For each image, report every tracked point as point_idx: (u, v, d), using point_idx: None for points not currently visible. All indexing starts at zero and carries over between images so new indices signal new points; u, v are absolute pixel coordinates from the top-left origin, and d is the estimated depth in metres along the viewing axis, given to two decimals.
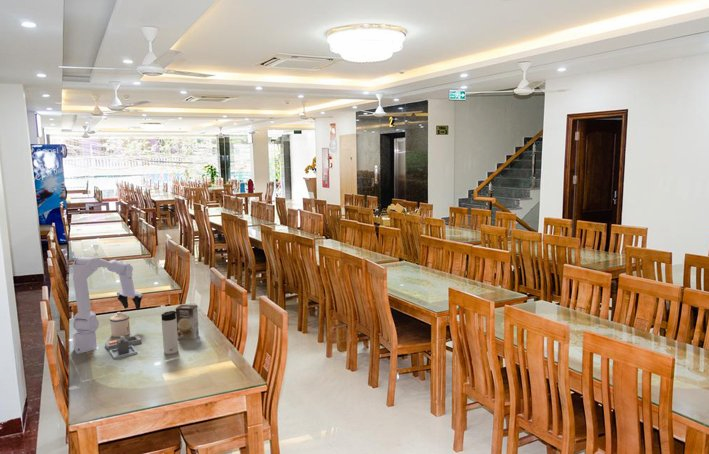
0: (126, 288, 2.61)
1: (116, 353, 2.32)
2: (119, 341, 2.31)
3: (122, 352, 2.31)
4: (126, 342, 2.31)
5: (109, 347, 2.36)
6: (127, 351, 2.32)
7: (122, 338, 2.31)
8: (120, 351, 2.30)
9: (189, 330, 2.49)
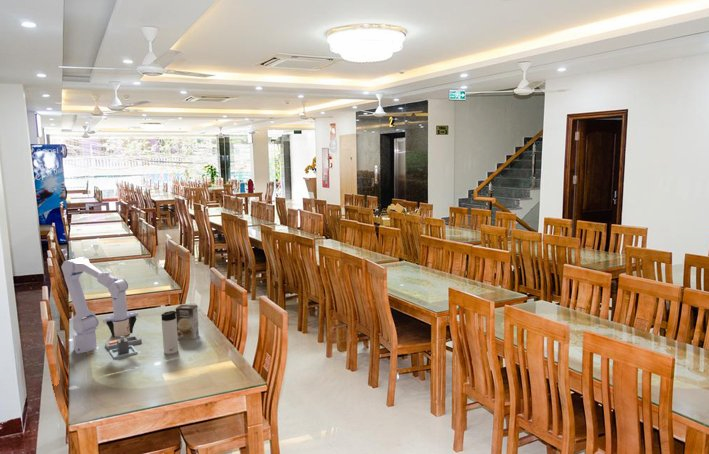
0: None
1: (116, 353, 2.32)
2: (119, 341, 2.31)
3: (122, 352, 2.31)
4: (126, 342, 2.31)
5: (109, 347, 2.36)
6: (127, 351, 2.32)
7: (122, 338, 2.31)
8: (120, 351, 2.30)
9: (189, 330, 2.49)
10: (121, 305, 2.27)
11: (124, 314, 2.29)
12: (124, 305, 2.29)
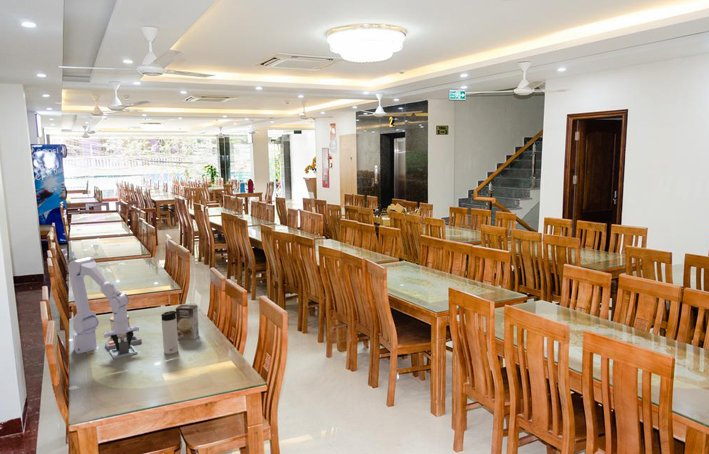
0: None
1: (116, 353, 2.32)
2: (119, 341, 2.31)
3: (122, 352, 2.31)
4: (126, 342, 2.31)
5: (109, 347, 2.36)
6: (127, 351, 2.32)
7: (122, 338, 2.31)
8: (120, 351, 2.30)
9: (189, 330, 2.49)
10: (122, 320, 2.28)
11: (125, 328, 2.30)
12: (125, 320, 2.29)
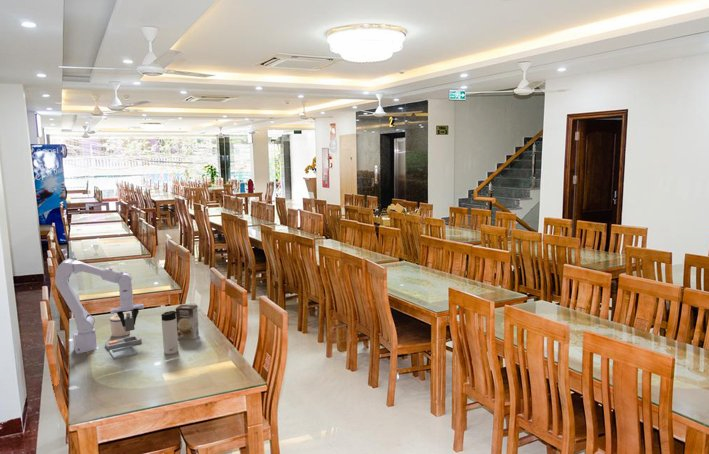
0: None
1: (116, 353, 2.32)
2: (125, 318, 2.42)
3: (128, 328, 2.42)
4: (132, 319, 2.42)
5: (109, 347, 2.36)
6: (133, 328, 2.43)
7: (128, 315, 2.42)
8: (126, 327, 2.41)
9: (189, 330, 2.49)
10: (131, 296, 2.41)
11: (130, 306, 2.41)
12: (132, 296, 2.43)
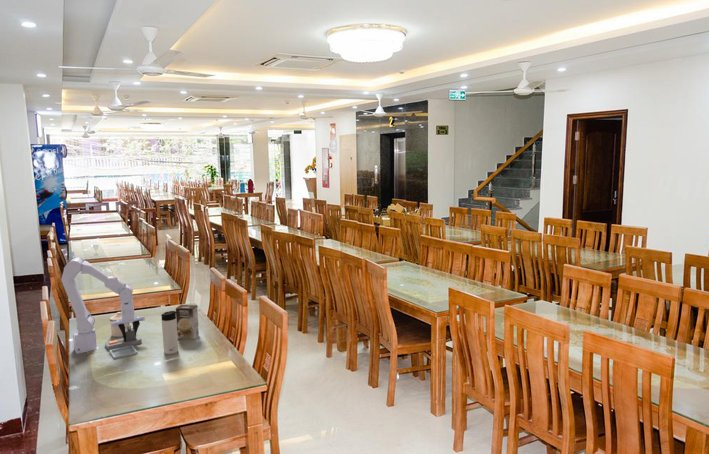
0: None
1: (116, 353, 2.32)
2: (126, 330, 2.43)
3: None
4: (133, 331, 2.43)
5: (109, 347, 2.36)
6: None
7: (129, 327, 2.43)
8: (127, 340, 2.42)
9: (189, 330, 2.49)
10: (132, 308, 2.42)
11: (131, 318, 2.42)
12: (133, 308, 2.43)
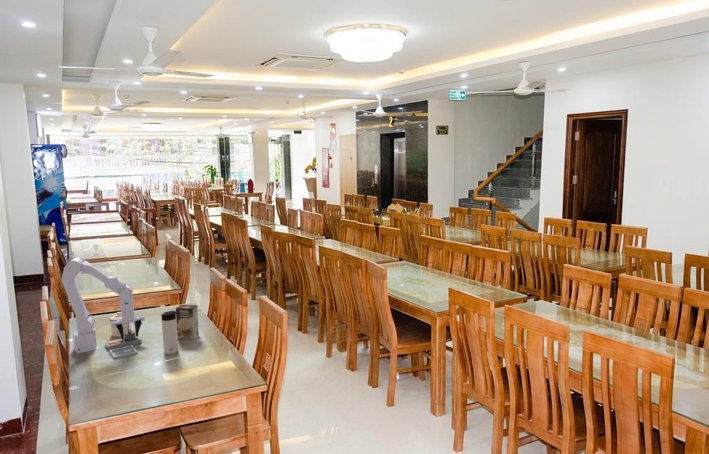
0: None
1: (116, 353, 2.32)
2: (126, 333, 2.43)
3: None
4: (133, 334, 2.44)
5: (109, 347, 2.36)
6: None
7: (129, 330, 2.44)
8: None
9: (189, 330, 2.49)
10: (132, 308, 2.42)
11: (131, 318, 2.42)
12: (133, 308, 2.43)
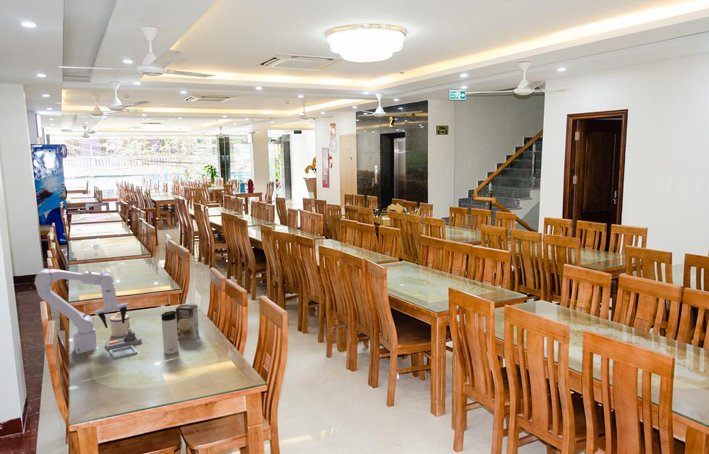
0: None
1: (116, 353, 2.32)
2: (126, 333, 2.43)
3: None
4: (133, 334, 2.44)
5: (109, 347, 2.36)
6: None
7: (129, 330, 2.44)
8: None
9: (189, 330, 2.49)
10: (114, 296, 2.40)
11: (114, 305, 2.40)
12: None
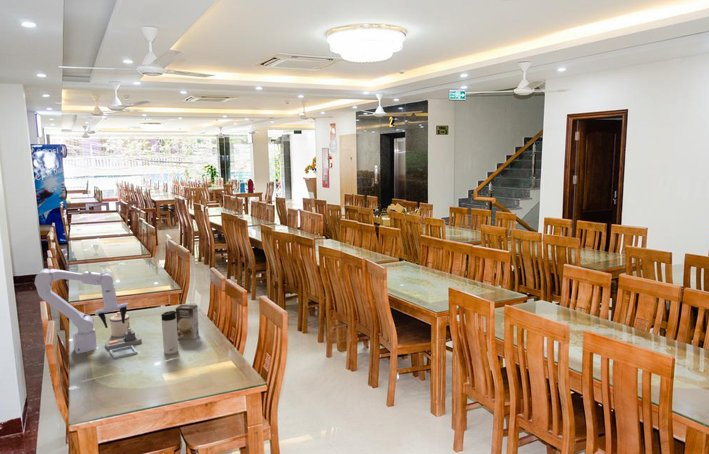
0: None
1: (116, 353, 2.32)
2: (126, 333, 2.43)
3: None
4: (133, 334, 2.44)
5: (109, 347, 2.36)
6: None
7: (129, 330, 2.44)
8: None
9: (189, 330, 2.49)
10: (114, 296, 2.40)
11: (114, 305, 2.40)
12: None
